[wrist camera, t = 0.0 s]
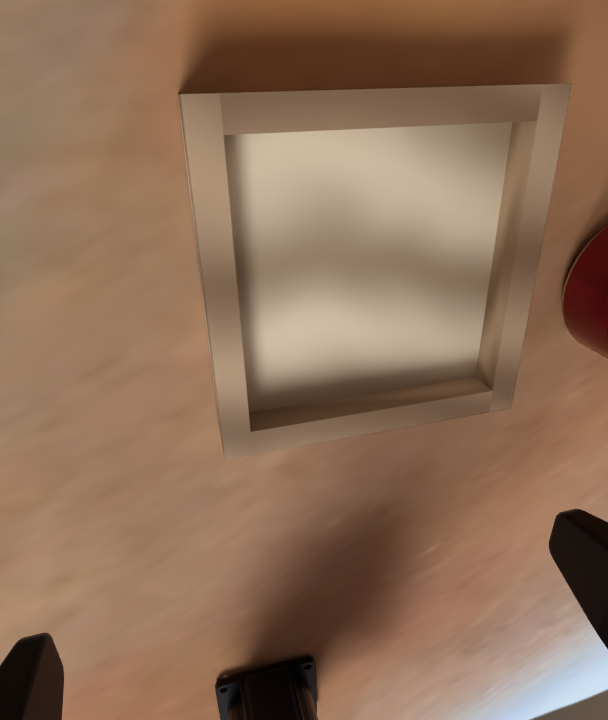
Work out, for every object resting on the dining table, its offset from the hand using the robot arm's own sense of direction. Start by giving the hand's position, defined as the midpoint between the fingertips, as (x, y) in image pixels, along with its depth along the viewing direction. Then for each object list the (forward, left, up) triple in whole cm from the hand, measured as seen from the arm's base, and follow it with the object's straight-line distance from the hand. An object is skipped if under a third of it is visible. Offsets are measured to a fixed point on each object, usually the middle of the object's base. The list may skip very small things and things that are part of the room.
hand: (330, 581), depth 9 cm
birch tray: (+1, -6, -15) cm, 16 cm away
